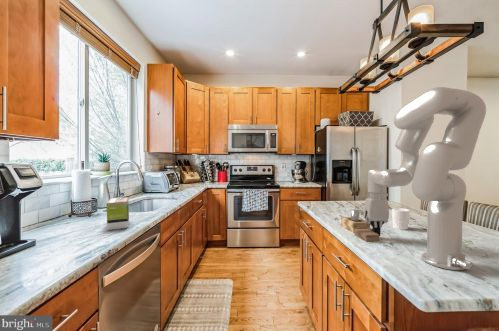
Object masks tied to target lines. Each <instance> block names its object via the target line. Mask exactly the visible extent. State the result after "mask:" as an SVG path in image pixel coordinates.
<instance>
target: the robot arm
mask: <svg viewBox="0 0 499 331" xmlns="http://www.w3.org/2000/svg"><path fill="white" fill-rule="evenodd" d="M435 115H443V116H444V115H449V116H451V117H452V119H451V120H450V121H449V123H448V124H447V126H446V127H445V130H444V131H445V132H444V135H443V137H442V139H441V141H434V142H431V143H428V144H427V145H426V146H425V147H424V148H423V149H422V151H421V152H420V150H421V147H422V145H423V143H424V141H425V140H426V139H425V138H426V137H427V135H428V133H429V131H430V130H431V127H432V125H433V123H434V121H435ZM486 115H487V106H486V104H485V101H484V99H483V98H481V96H479V95H477V94H476V93H474V92H471V91H468V90H465V89H459V88H451V87H445V86H438V87H434V88H431V89H429V90H426V91H424V92H423V93H422V94H420V95H419V96H418V97H415V99H413V100H411V101H409V102H408V103H407V104H405V105H404V106H402V107H401V108H400V109H399V110H398V111H397V112H396V113H395V116H394V118H393V124H394V126H395V127H396V128H397V129H399V130H401V131H400V133H399V134H398V136H397V140H396V141H395V144H394V146H395V148H396V149H397V150H399V152H401V154H402V161H401V164H400V166H399V167H398V168H396V169H395V168H394V169H393V168H392V169H381V168H374V169H373V168H371V169H369V170H368V171H367V198H365V200H364V205H363V219H364V220H365V222H366V223H369V224H370V227H372V229H371V231H373V232H375V233H377V234H379V236H380V234H381V230H382V229H381V228H382V227H383V225H384V224H386V223H388V222H389V219H390V208H389V201H388V199H387V197H388V196H389V194H388V193H387V188H394V187H406V186H408V185H409V184H410V183H411V182H412V183H411V184H412V185H411V188H412V189H411V190H412V194H414V196H415V197H416V198H417V199H418V200H420V201H422V202H426V203H427V202H429V203H428V206H427V213H426V215H427V217H426V221H427V222H426V223H427V224H426V252H423V253H422V254H421V260H422V261H424V262H425V263H427V264H428V265H431V266H434V267H437V268H441V269H444V270H451V271H463V270H464V271H465V270H470V269H471V267H473V265H474V264H473V262H472V261H469V260H466V255H465V254H464V253H462V252H463V219H464V217H463V215H464V214H463V213H464V205H465V200H466V195H467V184H466V182H465V180H464V179H463V178H462V177H460V176H459V175H457V174H455V173H452V172H450V171H459V170H463V169H466V168H467V166H469V164H470V163H471V160H472V157H473V154H474V151H475V148H476V144H477V141H478V139H479V135H480V132H481V128H482V126H483V123H484V121H485V118H486ZM419 152H420V154H419Z"/></svg>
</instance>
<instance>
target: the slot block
mask: <svg viewBox="0 0 499 331" xmlns="http://www.w3.org/2000/svg"><path fill="white" fill-rule="evenodd" d="M340 227H341V228H343V229H345V230H347V231H348V232H351V233H353V234H355V229H368V230H370V231H371V224H369V223H366V222H365V219H364V218H363V219H362V218H360V217H359V222H353V221H351V216H345V217H343V216H342V217H340Z"/></svg>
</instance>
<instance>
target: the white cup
mask: <svg viewBox="0 0 499 331" xmlns="http://www.w3.org/2000/svg"><path fill="white" fill-rule="evenodd" d="M410 211H411V210H410V209H408V208H403V207H402V208H400V207H393V208H391V217H392V218H391V220H392V227H393V229H396V230H400V231H407V230H409V223H410Z"/></svg>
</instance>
